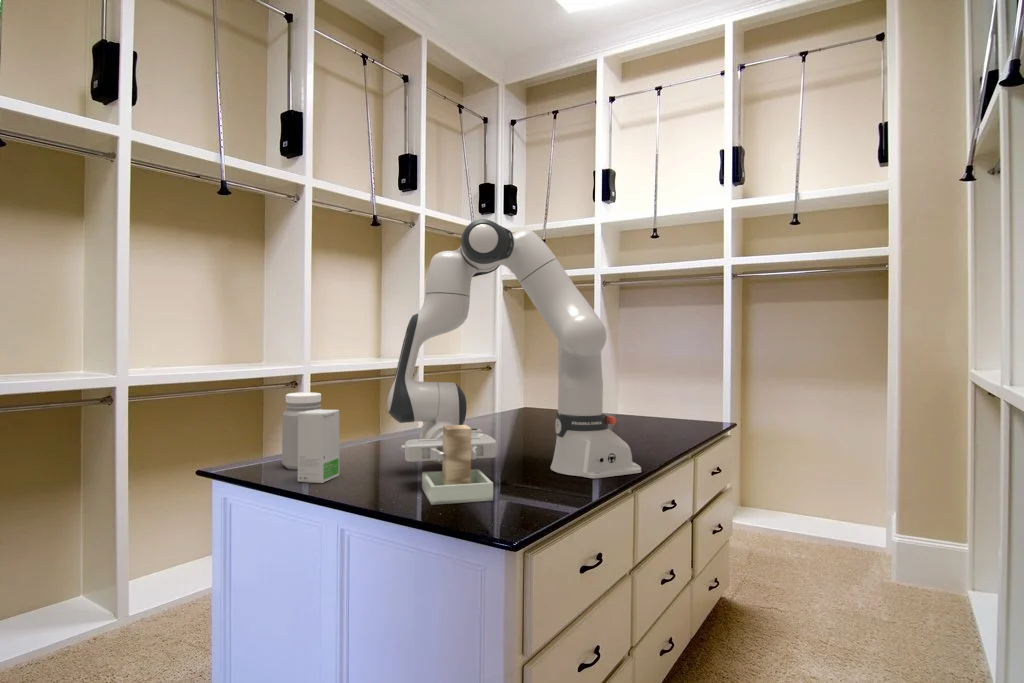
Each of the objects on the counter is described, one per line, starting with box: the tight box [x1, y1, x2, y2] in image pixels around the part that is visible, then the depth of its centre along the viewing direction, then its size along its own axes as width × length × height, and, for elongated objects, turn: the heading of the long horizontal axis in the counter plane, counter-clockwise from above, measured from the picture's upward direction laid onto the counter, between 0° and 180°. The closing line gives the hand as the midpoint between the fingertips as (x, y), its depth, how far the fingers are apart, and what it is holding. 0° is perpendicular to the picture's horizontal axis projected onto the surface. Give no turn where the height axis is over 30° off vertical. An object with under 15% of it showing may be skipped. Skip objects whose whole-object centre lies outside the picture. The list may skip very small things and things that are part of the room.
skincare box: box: [297, 409, 340, 484], centre depth 133 cm, size 8×7×16 cm
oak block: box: [441, 424, 472, 485], centre depth 122 cm, size 5×5×12 cm
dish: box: [421, 468, 494, 506], centre depth 122 cm, size 13×13×4 cm
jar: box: [281, 391, 323, 471], centre depth 145 cm, size 10×10×18 cm
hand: (457, 456), depth 121 cm, fingers closed on oak block, 5 cm apart
